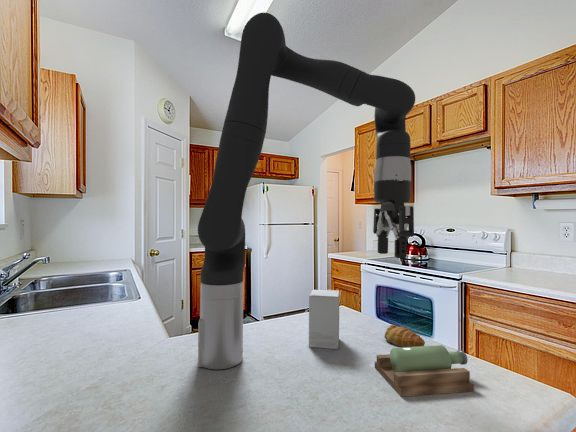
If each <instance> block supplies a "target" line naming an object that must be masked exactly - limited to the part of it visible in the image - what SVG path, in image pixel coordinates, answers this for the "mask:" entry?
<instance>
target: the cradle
mask: <svg viewBox="0 0 576 432" xmlns="http://www.w3.org/2000/svg"><path fill="white" fill-rule="evenodd" d="M374 369H375V370H376V371H377V372H378V373H379V374H380V375H381V376H382V377H383V379H384V380H385V381H386V382H387V383H388V384H389V385H390V386H391V388H392V389H394V391H395V392H396V393H397V394H398V395H399V396H400V397H402V398H403V397H415V396H429V395H440V394H441V395H442V394H454V393H467V392H474V391H475V384H474V383H472V382H471V379H470V377H471V375H470V374H471V371H469V370H468V369H467V368H465V367H458V368H456V367H455V368H451V369H439V370H424V371H409V372H394V371H393V369H392V366H391V362H390V354H388V353H387V354H377V355H376V361H374Z"/></svg>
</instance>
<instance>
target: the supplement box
mask: <svg viewBox="0 0 576 432" xmlns="http://www.w3.org/2000/svg"><path fill="white" fill-rule="evenodd" d="M339 340H340V290H335V289H334V290H333V289H330V290H329V289H312V290H311V292H310V294H309V295H308V347H310V348H318V349H331V350H332V349H333V350H338V349H339Z"/></svg>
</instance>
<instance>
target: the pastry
mask: <svg viewBox="0 0 576 432" xmlns="http://www.w3.org/2000/svg"><path fill="white" fill-rule="evenodd" d="M384 339H385V340H386V341H387V342H388V343H389V344H390V343H392V344H393V345H394V346H398V347H400V348H401V347H419V346H425V343H426V341H425V340H424V339H423V338H422V337H421V336H420V335H419V334H417V333H416V332H415V331H411V330H410V328H407V327H404V326H397V325H396V324H390V325H389V326H388V327H387V328H386V329H385V333H384Z"/></svg>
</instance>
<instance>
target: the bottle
mask: <svg viewBox="0 0 576 432" xmlns="http://www.w3.org/2000/svg"><path fill="white" fill-rule="evenodd" d="M389 353H390V362H391V366H392V369H393V371H394V372H409V371H424V370H439V369H452V366H453V365H463V366H464V365H467V363H468V355H467V354H466V351H465V350H463V349H458V350H456V351H449V350H448V349H447V348H446V347H445V346H444V345H442V344H441V345H438V344H437V345H424V346H419V347H401V346H400V347H392V348H391V350H390V352H389Z"/></svg>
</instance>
